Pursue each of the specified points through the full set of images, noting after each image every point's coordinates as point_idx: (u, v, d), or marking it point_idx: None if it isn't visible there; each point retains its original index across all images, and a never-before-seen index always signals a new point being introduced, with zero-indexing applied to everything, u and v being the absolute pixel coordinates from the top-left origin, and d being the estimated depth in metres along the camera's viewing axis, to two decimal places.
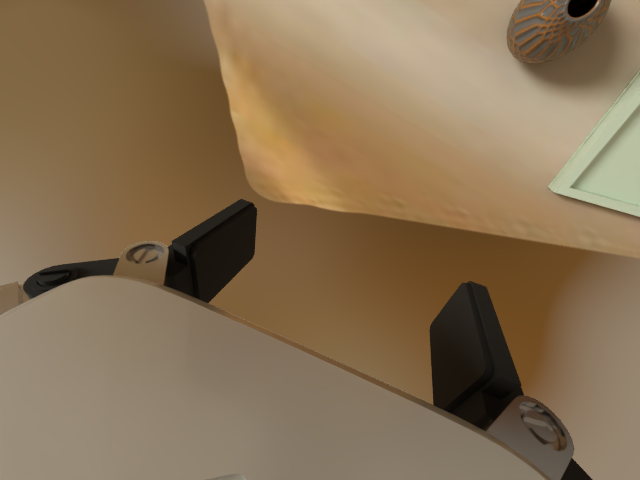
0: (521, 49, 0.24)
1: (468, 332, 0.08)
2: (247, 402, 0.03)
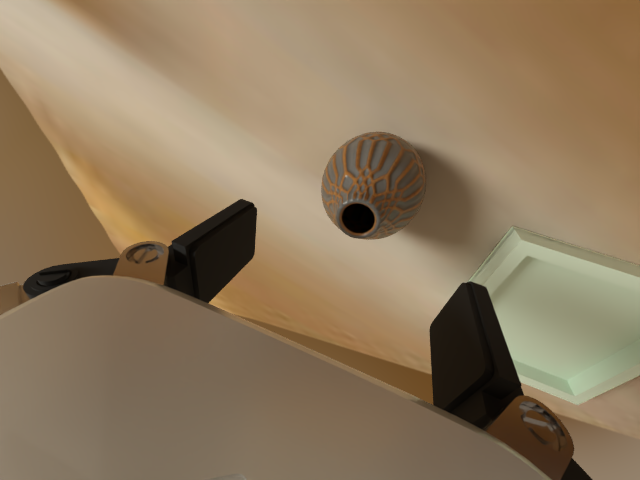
0: None
1: (468, 332, 0.08)
2: (247, 402, 0.03)
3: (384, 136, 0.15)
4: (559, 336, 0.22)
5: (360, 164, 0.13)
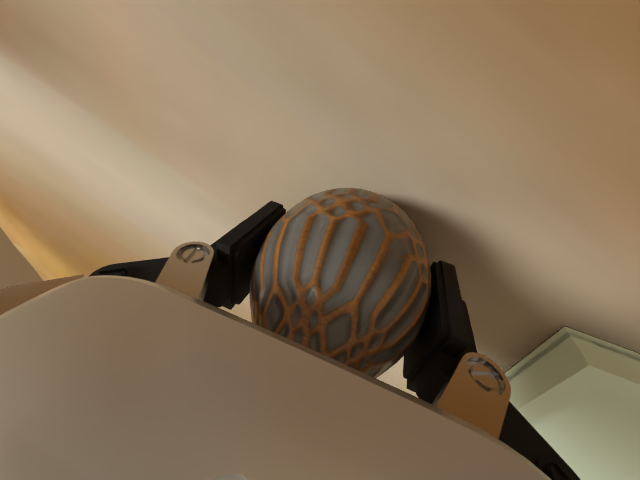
0: None
1: (433, 303, 0.08)
2: (247, 402, 0.03)
3: (355, 207, 0.08)
4: (627, 474, 0.15)
5: (302, 273, 0.07)
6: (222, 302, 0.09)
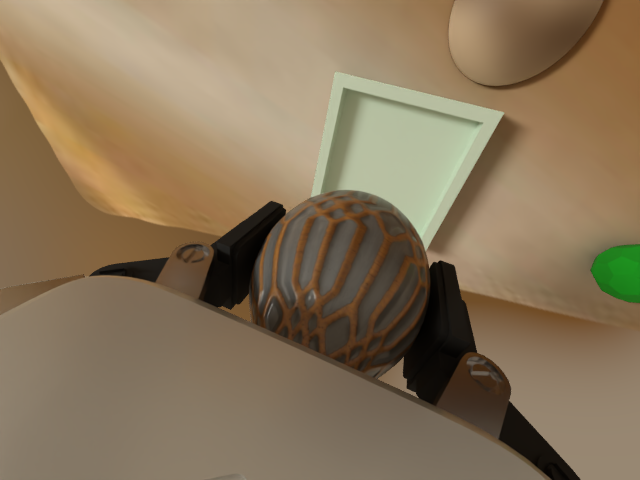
0: None
1: (433, 303, 0.08)
2: (247, 402, 0.03)
3: (354, 209, 0.08)
4: (400, 184, 0.26)
5: (301, 275, 0.07)
6: (222, 302, 0.09)
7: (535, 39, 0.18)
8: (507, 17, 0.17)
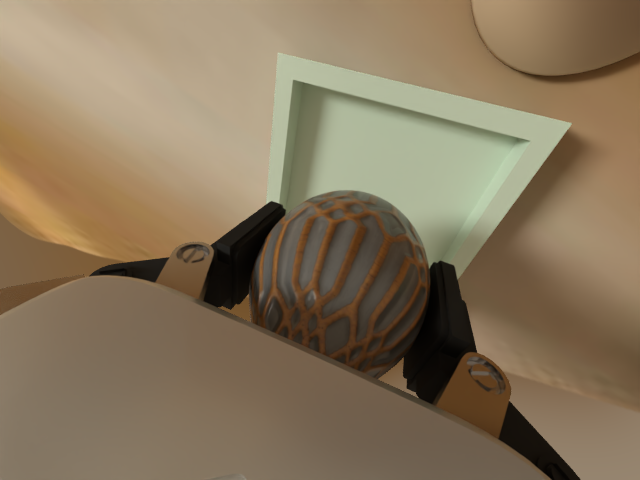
0: None
1: (433, 303, 0.08)
2: (247, 402, 0.03)
3: (354, 209, 0.08)
4: None
5: (301, 275, 0.07)
6: (222, 302, 0.09)
7: None
8: None
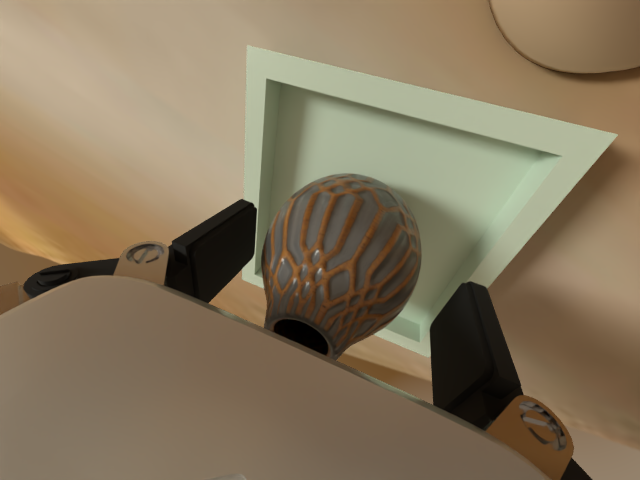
0: None
1: (468, 332, 0.08)
2: (247, 402, 0.03)
3: (353, 186, 0.09)
4: None
5: (307, 239, 0.08)
6: None
7: None
8: None
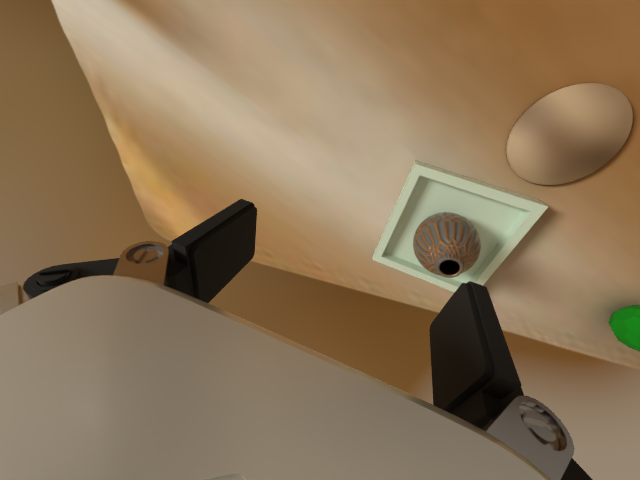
0: None
1: (468, 332, 0.08)
2: (247, 402, 0.03)
3: (458, 219, 0.26)
4: None
5: (449, 237, 0.25)
6: None
7: (574, 158, 0.24)
8: (554, 142, 0.24)
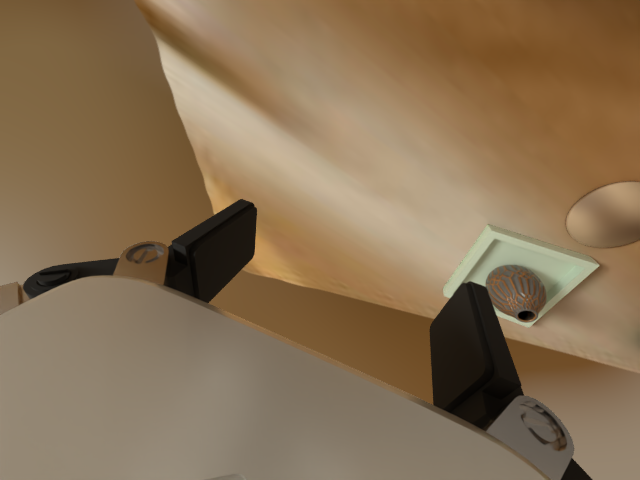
0: (494, 305, 0.37)
1: (468, 332, 0.08)
2: (247, 402, 0.03)
3: (528, 275, 0.34)
4: None
5: (524, 291, 0.32)
6: None
7: (621, 230, 0.31)
8: (606, 219, 0.31)
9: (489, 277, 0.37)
